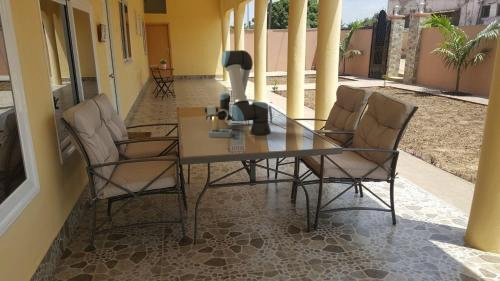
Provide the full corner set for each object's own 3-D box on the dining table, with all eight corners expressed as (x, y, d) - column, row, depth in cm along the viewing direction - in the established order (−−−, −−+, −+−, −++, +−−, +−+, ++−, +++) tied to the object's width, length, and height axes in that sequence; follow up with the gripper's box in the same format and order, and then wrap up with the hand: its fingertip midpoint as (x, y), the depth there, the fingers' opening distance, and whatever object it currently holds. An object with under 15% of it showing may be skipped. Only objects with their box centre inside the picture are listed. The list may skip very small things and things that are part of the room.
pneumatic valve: (218, 118, 328) (217, 105, 325) (205, 119, 326) (204, 106, 323) (217, 117, 333) (217, 104, 330) (204, 118, 331) (204, 105, 328)
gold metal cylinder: (219, 134, 271) (218, 116, 268) (218, 136, 267) (217, 117, 263) (213, 134, 272) (212, 116, 268) (212, 136, 268) (211, 117, 264)
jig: (232, 134, 273) (232, 129, 272) (229, 137, 263) (229, 132, 262) (212, 133, 275) (212, 129, 274) (209, 137, 265) (208, 132, 264)
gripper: (238, 119, 292) (233, 125, 272) (207, 119, 295) (200, 125, 275) (237, 110, 290) (233, 115, 270) (207, 110, 293) (200, 115, 273)
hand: (216, 120), depth 272 cm, fingers open, 13 cm apart
